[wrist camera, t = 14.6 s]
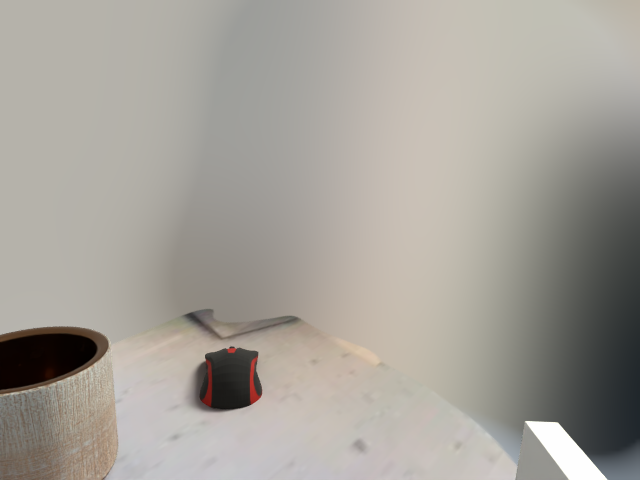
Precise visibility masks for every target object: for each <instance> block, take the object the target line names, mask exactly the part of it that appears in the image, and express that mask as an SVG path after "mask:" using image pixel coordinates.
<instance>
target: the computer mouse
mask: <svg viewBox="0 0 640 480" xmlns="http://www.w3.org/2000/svg"><path fill="white" fill-rule="evenodd" d="M257 358H258V352H257V351H249V350H245V349H242V348H237V349H235V348H234V347H230V349H226V348H225V349H222V350H220V351H217V352H212V353H207V354H206V355H205V359H206V365H207V373H206V376H205V379H204V382H203V385H202V388H201V391H200V399H201V401H202V402H203V403H204V404H206V405H207V406H210V407H212V408H218V409H234V408H241V407H245V406H249V405H251V404H253V403H254V402H256V401H257V400H258V399H259V398H260V397H261V395H262V387H261V383H260V380H259V377H258V375H257V372H256V365H257Z"/></svg>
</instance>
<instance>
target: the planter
mask: <svg viewBox="0 0 640 480" xmlns="http://www.w3.org/2000/svg"><path fill="white" fill-rule="evenodd" d="M117 450H118V435H117V422H116V409H115V397H114V385H113V371H112V355H111V344H110V341H109V339H108V338H107V337H106V336H105V335H103V334H102V333H100V332H97V331H94V330H91V329H86V328H80V327H43V328H33V329H27V330H21V331H16V332H11V333H6V334H2V335H0V480H103V478H104V477H105V476H106V475H107V474H108V472H109V471H110V470H111V468H112V466H113V464H114V462H115V460H116V456H117Z"/></svg>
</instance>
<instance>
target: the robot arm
mask: <svg viewBox="0 0 640 480" xmlns="http://www.w3.org/2000/svg"><path fill="white" fill-rule="evenodd" d="M515 480H607V479H606V478H605V477H604V476H603V474H602V473H601V472H600V471H599V470H598V469H597V467H596V466H595V465H594V464H593V463H592V462H591V460H590V459H589V458H588V457H587V456H586V455H585V454H584V453H583V451H582V450H581V449H580V448H579V447H578V445H577V444H576V443H575V442H574V441H573V440H572V439H571V437H570V436H569V435H568V434H567V433H566V432H565V431H564V429H563V428H562V427H561V426H560V425H559V424H558V423H554V422H531V421H530V422H529V421H525V425H524V431H523V437H522V443H521V449H520V455H519V461H518V467H517V473H516V479H515Z"/></svg>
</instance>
